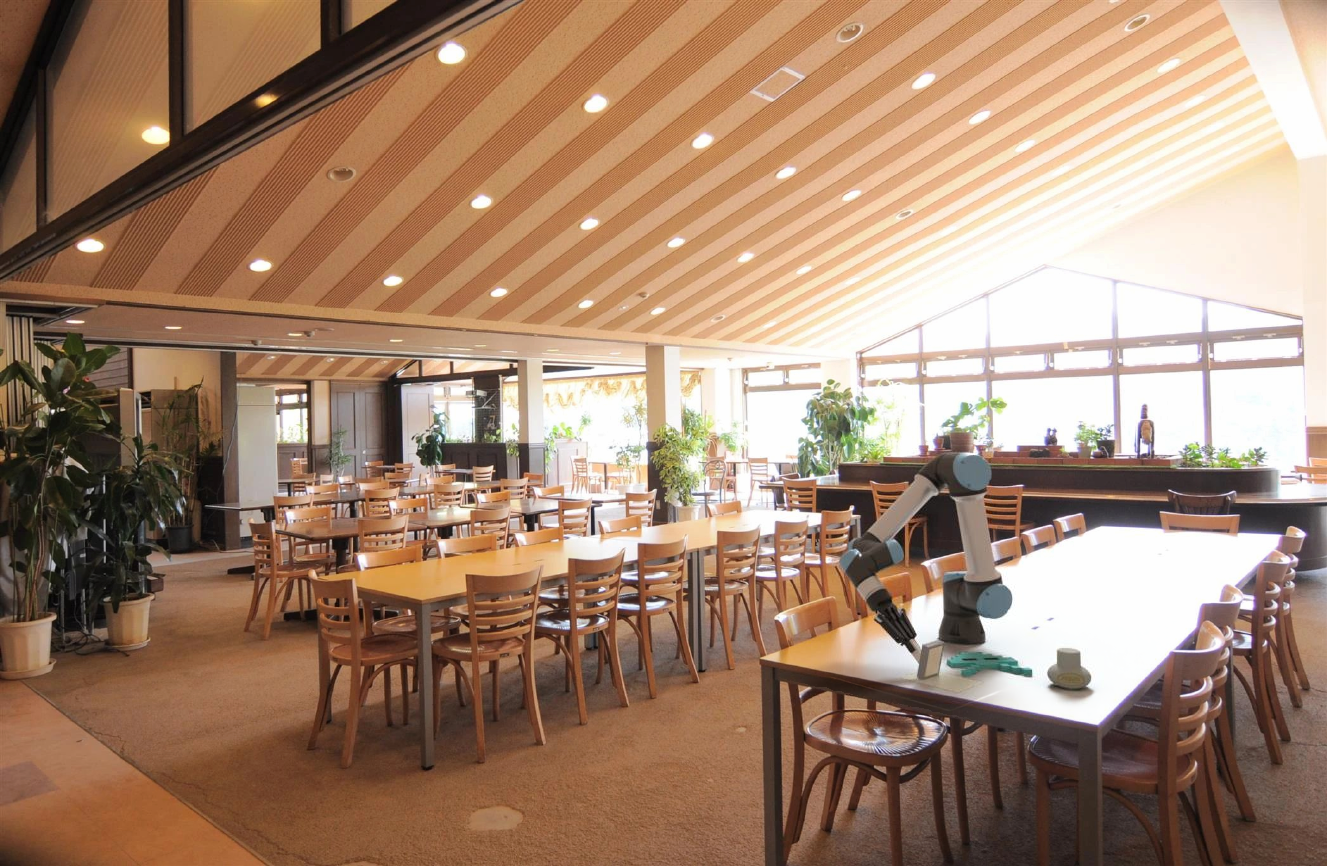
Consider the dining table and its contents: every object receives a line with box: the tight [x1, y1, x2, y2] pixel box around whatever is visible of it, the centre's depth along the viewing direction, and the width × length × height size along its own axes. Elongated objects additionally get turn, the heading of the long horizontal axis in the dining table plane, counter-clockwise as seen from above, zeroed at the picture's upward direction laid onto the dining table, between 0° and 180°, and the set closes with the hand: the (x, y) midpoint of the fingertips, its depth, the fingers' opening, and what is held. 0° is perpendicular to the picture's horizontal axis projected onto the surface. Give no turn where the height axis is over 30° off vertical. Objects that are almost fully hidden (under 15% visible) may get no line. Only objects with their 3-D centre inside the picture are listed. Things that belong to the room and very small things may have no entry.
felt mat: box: [900, 671, 983, 693], centre depth 234 cm, size 18×13×1 cm
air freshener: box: [1046, 647, 1092, 691], centre depth 227 cm, size 11×8×10 cm
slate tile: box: [916, 639, 946, 680], centre depth 236 cm, size 2×8×10 cm, turn 128°
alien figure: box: [946, 651, 1033, 677], centre depth 247 cm, size 20×2×20 cm
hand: (922, 660), depth 238 cm, fingers closed
